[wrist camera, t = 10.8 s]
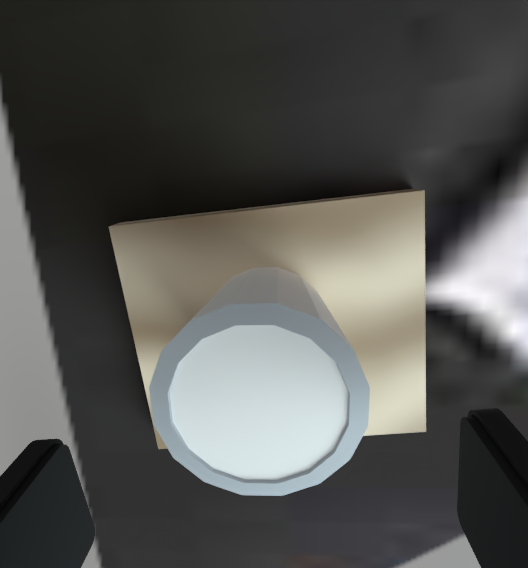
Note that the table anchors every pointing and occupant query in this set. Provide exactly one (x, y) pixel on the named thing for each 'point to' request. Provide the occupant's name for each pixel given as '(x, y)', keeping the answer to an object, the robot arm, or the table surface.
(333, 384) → the shot glass
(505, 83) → the table surface
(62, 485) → the robot arm
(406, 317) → the birch board
